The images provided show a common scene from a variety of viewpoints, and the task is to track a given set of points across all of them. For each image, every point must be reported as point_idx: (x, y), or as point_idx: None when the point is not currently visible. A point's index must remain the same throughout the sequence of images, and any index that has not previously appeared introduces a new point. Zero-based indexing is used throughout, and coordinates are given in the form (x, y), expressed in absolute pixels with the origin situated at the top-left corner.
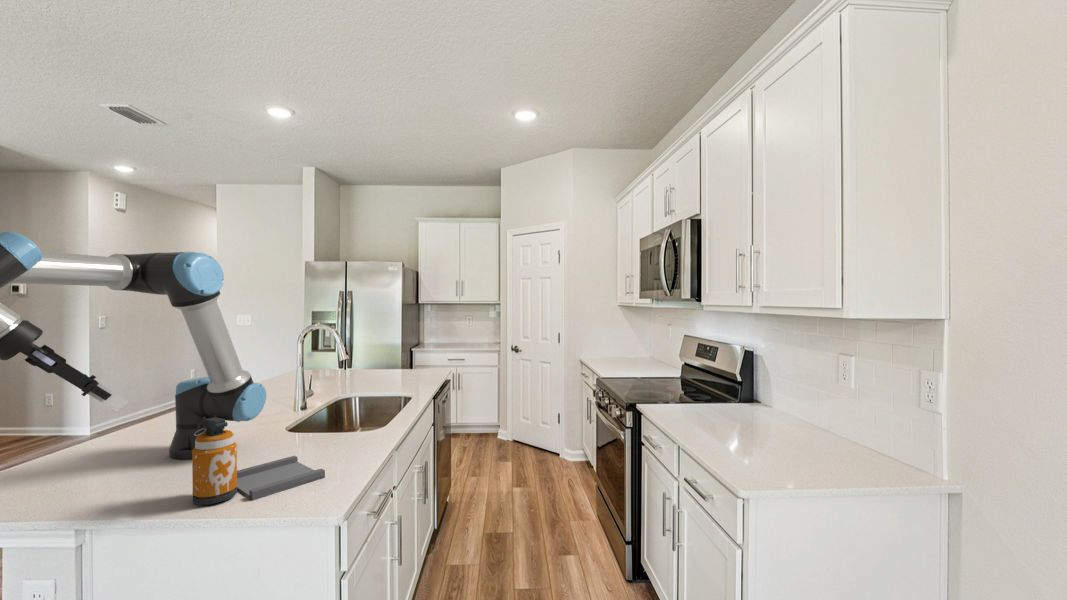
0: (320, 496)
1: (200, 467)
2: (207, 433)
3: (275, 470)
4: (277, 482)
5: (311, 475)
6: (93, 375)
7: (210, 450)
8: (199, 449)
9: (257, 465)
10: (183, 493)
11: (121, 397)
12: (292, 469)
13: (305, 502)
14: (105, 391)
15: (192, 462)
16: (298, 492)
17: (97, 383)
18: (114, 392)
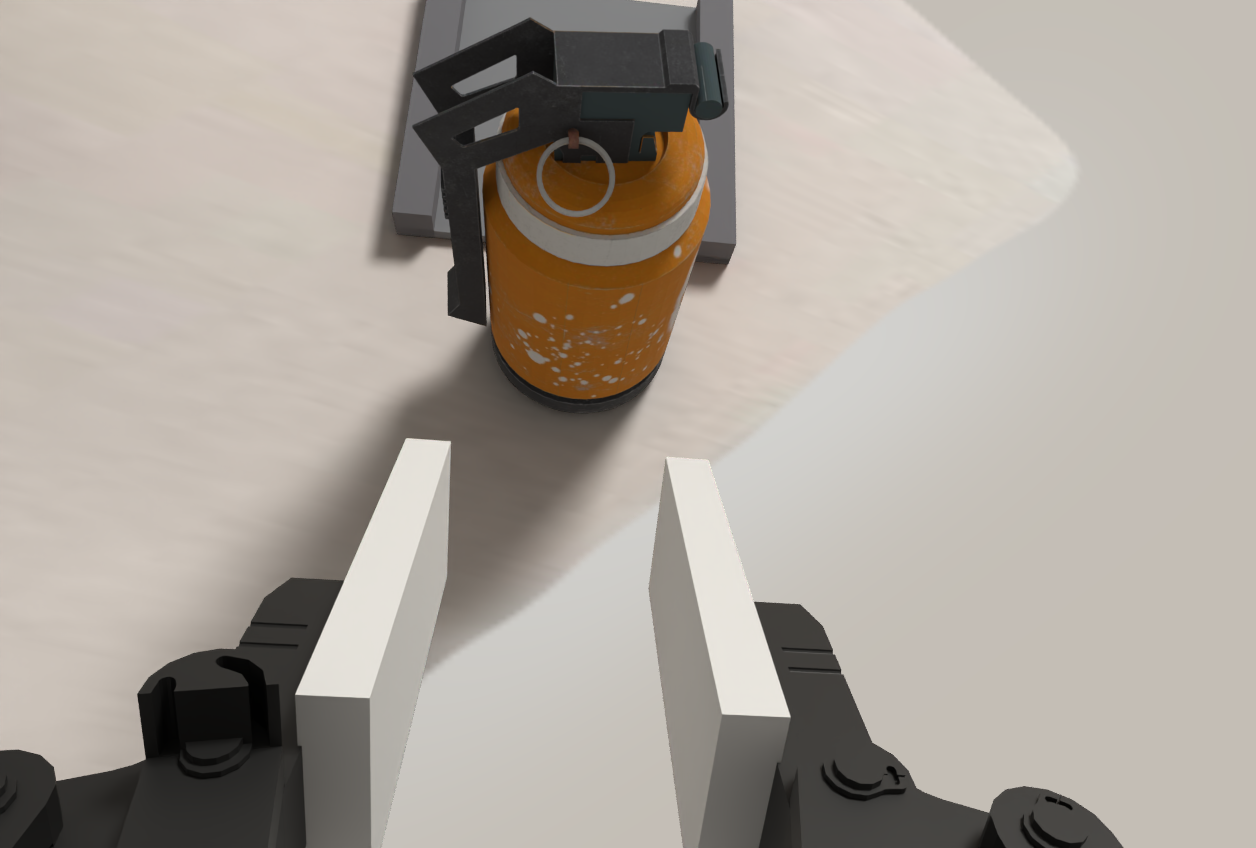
0: (895, 120)
1: (648, 319)
2: (577, 155)
3: (491, 74)
4: (711, 146)
5: (732, 43)
6: (213, 692)
7: (688, 233)
8: (631, 261)
9: (412, 92)
10: (378, 393)
11: (716, 507)
12: None
13: (908, 173)
14: (838, 671)
15: (569, 319)
16: (792, 140)
17: (892, 766)
18: (735, 557)
